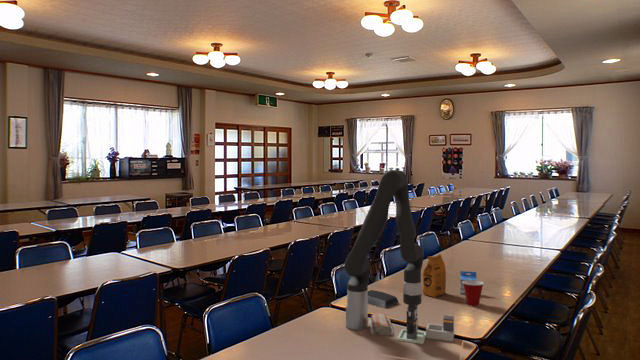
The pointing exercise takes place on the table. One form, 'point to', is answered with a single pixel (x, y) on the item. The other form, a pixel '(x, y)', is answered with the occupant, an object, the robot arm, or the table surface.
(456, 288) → the table surface
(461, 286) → the label tape box
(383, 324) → the packaged product
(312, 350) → the table surface
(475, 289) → the plastic cup
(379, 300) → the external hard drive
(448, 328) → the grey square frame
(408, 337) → the plug
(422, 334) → the tray
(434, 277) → the coffee package
